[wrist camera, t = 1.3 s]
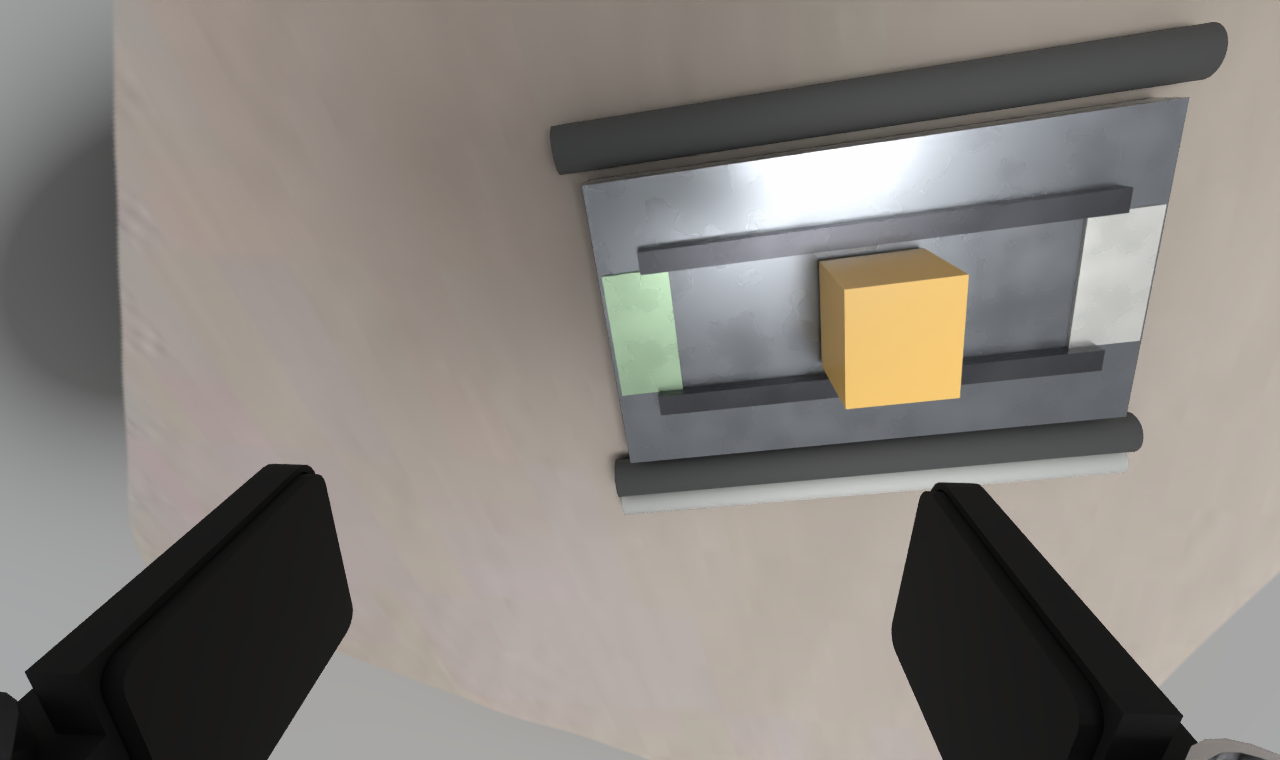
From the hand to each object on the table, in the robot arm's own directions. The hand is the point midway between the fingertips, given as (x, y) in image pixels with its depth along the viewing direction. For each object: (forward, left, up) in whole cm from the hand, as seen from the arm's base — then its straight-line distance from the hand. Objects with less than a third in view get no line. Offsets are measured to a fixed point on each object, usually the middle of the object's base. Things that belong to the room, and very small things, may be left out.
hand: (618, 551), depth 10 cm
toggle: (-9, +3, -19) cm, 22 cm away
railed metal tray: (-9, +3, -22) cm, 24 cm away
